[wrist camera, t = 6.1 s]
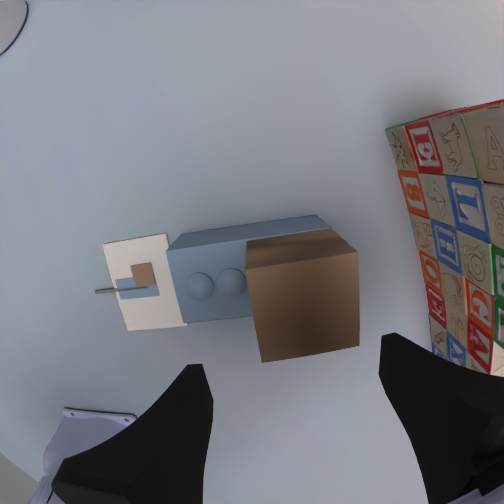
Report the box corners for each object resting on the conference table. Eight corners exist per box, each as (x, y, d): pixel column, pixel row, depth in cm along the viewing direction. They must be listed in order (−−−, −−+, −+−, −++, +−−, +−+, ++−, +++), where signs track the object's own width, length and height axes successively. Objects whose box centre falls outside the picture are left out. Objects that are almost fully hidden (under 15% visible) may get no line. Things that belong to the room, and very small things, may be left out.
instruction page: (110, 330, 23) (108, 332, 22) (84, 247, 21) (82, 249, 20) (188, 324, 22) (187, 327, 22) (166, 233, 20) (165, 234, 20)
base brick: (194, 295, 22) (182, 325, 17) (181, 234, 20) (163, 252, 16) (321, 278, 21) (336, 305, 17) (315, 214, 20) (332, 228, 16)
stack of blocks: (481, 335, 23) (553, 407, 11) (431, 364, 24) (496, 454, 12) (446, 108, 18) (571, 91, 6) (381, 127, 18) (510, 104, 7)
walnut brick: (259, 316, 18) (262, 362, 13) (246, 240, 16) (245, 269, 12) (336, 303, 17) (359, 345, 13) (330, 228, 16) (357, 251, 12)
